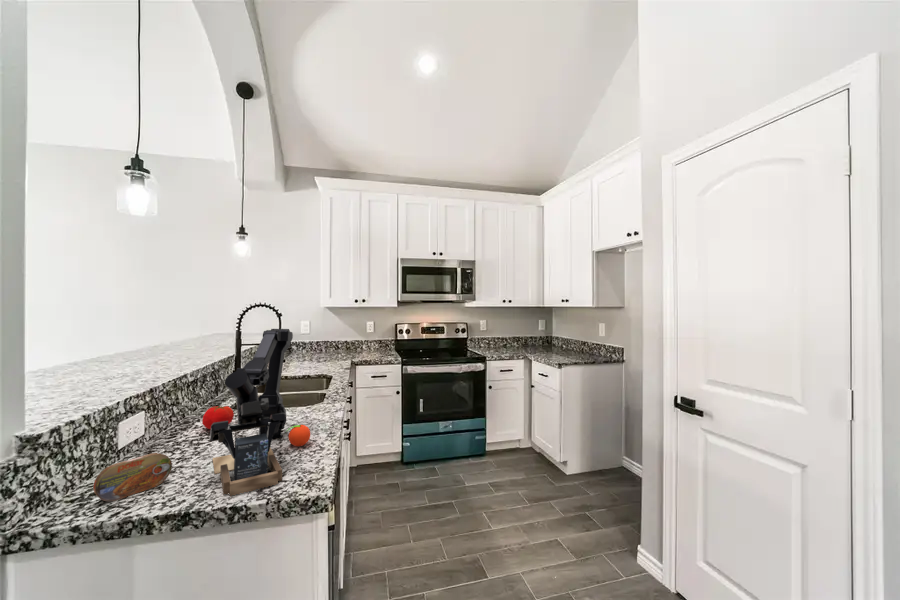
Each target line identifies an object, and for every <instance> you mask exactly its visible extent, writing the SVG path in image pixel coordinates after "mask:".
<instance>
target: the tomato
mask: <svg viewBox="0 0 900 600" xmlns="http://www.w3.org/2000/svg"><path fill="white" fill-rule="evenodd" d="M234 415H235V412H234V410H233V409H232V408H231V407H229V406H228V405H226V406H220V405H218V406H210V407H209V408H208V409H207V410H206V411H205V412H204V414H203V416H202V425H203V427H205V428H206V429H208V430H211V425H212V424H213V423H215V422H221V421H228V424H230V425H231V423H232V422H233V419H234V417H235V416H234Z"/></svg>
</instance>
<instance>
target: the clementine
mask: <svg viewBox="0 0 900 600" xmlns="http://www.w3.org/2000/svg"><path fill="white" fill-rule="evenodd" d="M288 431H289V433H288V441H289V443H290V444H291V445H292V446H294V447H303V446H304V445H306V444H307V443H308V442H309V441H310V439H311V435H312V434H311V430H310V428H309V427H308V426H306V425H305V424H297V425H293V426H291V427H289V428H288V429H287V430H286V431H285V434H286V433H287V432H288Z"/></svg>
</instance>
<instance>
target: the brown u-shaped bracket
mask: <svg viewBox="0 0 900 600" xmlns="http://www.w3.org/2000/svg"><path fill="white" fill-rule="evenodd" d="M267 467H268V469H269V471H270V472H267V473H266V474H262V475H257V476H253V477H248V478H244V479H240V480H235V481H234V480H232V481H231V477H230V471H228V466H227V464H224V465H221V470H220V473H219V474H220V475H219V476H220V477H219V478H220V481H221V483H222V484H221V488H222V489H223V490H222V494H223V496H225V495H224V494H226V495H229V494H230V495H229V497H233V496H232V495H234V496H237V495H236V494H238V495H241V494H240V493H242V494H245V493H244V492H246V493H249V491H250V492H254V491H257V490H256V489H258V490H261V489H260V488H262V489H264V487H266V488H269V487H268V486H270V487H273V486H272V485H274V486H276V484H278V485H279V482H283V468H282V467H281V465H280V462H279V461H278V459H277V457H276V455H275V454H273V455H269V456H268V466H267ZM278 481H279V482H278ZM253 490H254V491H253ZM228 493H229V494H228Z"/></svg>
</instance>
